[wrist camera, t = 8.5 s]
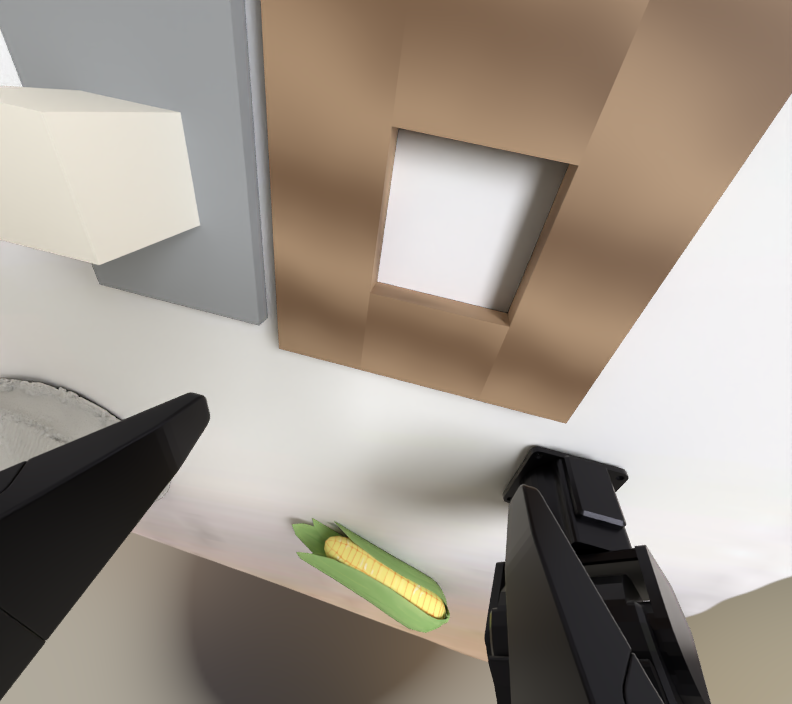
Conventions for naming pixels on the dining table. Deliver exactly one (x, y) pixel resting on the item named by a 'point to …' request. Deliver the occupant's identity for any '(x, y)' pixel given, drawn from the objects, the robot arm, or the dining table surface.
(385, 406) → the dining table surface
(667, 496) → the dining table surface
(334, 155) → the pocket plate
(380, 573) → the edible corn
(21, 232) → the white block
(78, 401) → the grey stone disc
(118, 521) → the robot arm
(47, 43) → the grey mat
